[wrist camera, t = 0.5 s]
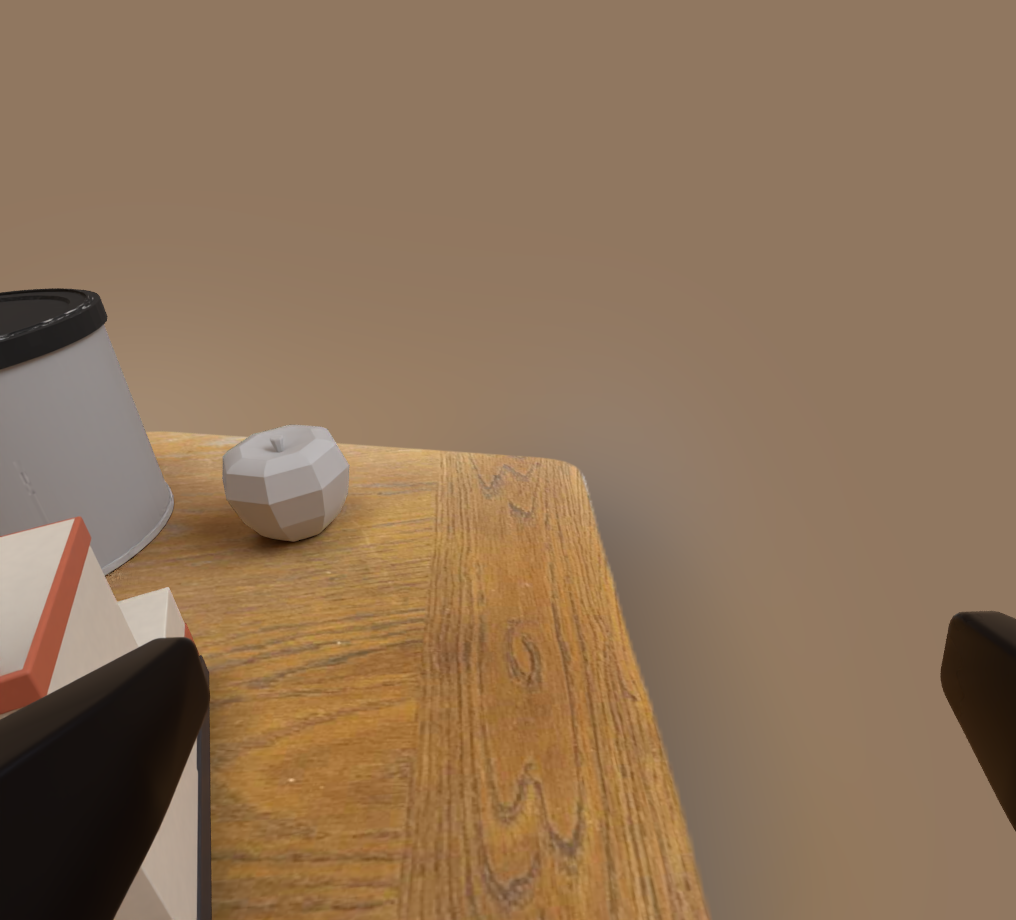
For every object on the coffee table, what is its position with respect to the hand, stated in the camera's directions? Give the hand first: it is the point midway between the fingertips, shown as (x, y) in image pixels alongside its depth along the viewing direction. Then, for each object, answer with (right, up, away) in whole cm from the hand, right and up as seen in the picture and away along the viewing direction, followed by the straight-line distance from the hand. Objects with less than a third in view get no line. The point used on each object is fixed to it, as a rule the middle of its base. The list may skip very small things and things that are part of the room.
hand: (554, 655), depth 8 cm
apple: (-14, -2, +35) cm, 38 cm away
